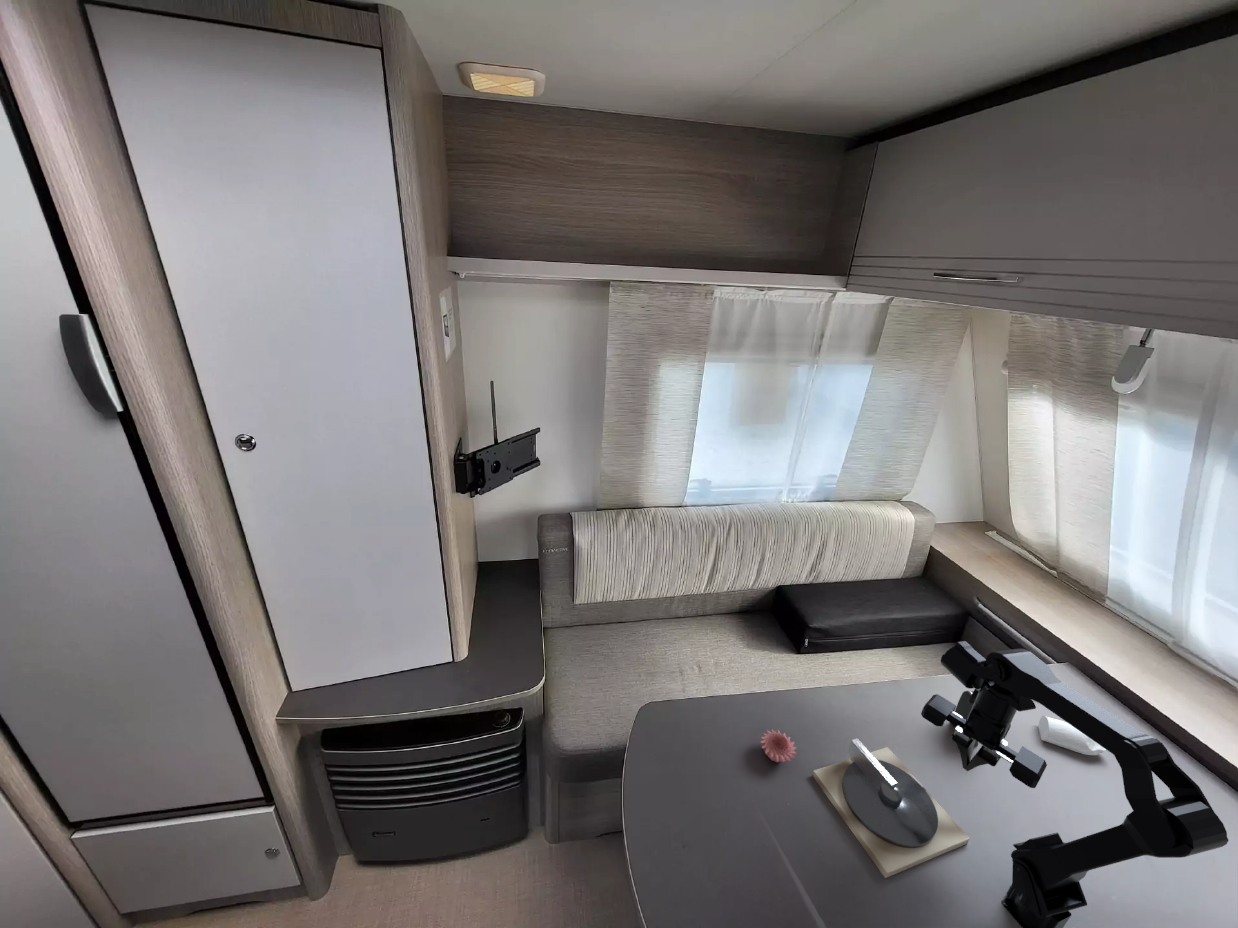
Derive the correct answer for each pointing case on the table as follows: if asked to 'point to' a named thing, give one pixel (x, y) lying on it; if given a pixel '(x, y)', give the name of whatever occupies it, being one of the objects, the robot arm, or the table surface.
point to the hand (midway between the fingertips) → (966, 768)
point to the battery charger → (964, 707)
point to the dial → (888, 800)
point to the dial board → (880, 851)
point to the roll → (1067, 736)
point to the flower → (778, 746)
